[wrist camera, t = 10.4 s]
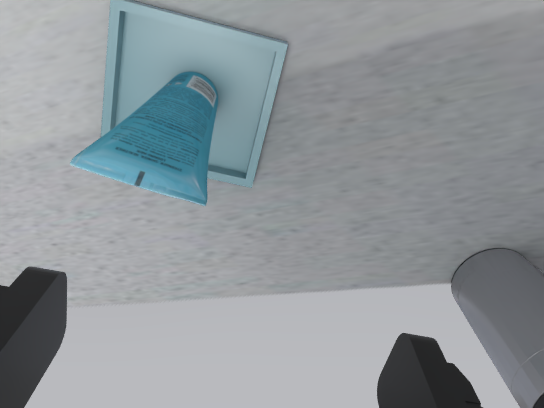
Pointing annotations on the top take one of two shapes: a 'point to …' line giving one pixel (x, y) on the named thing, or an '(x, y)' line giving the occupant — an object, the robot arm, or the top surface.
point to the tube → (161, 141)
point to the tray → (201, 59)
